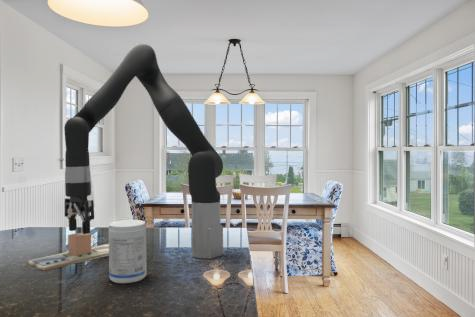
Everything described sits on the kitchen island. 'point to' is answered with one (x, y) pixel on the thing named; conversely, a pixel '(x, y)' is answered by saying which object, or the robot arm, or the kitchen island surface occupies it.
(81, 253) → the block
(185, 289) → the kitchen island surface
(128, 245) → the supplement tub
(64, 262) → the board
